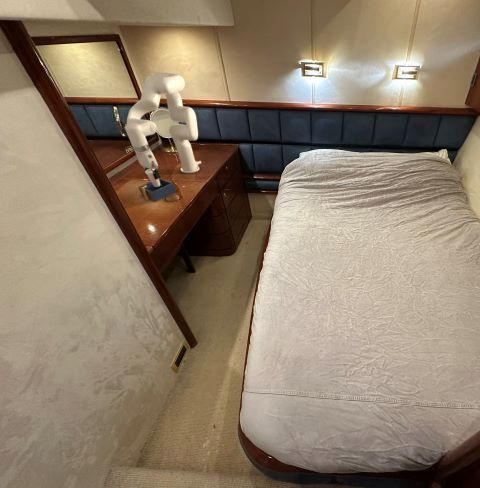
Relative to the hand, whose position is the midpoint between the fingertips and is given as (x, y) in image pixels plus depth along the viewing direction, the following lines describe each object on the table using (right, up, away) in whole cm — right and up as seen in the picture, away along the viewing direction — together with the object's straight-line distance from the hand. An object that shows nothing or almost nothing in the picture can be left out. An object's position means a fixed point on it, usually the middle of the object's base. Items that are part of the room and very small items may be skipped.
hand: (153, 176), depth 158 cm
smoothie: (0, -4, +4) cm, 6 cm away
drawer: (-1, -9, +7) cm, 11 cm away
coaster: (+10, -12, +3) cm, 16 cm away
